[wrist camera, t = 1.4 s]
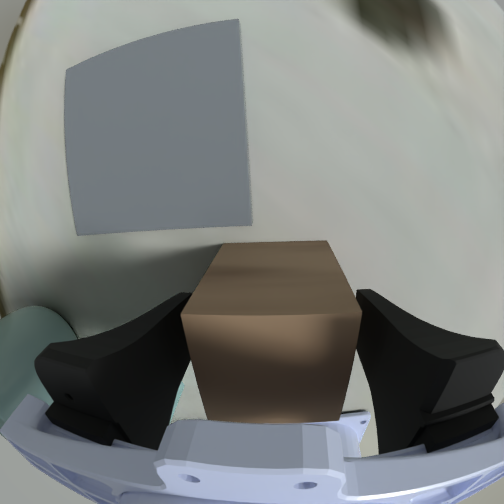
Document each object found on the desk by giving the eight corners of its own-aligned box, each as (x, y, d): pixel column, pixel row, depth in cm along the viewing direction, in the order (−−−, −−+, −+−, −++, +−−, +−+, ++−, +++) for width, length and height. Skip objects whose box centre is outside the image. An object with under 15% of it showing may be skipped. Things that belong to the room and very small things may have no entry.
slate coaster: (252, 222, 13) (251, 225, 12) (83, 232, 14) (77, 235, 14) (240, 24, 10) (238, 18, 9) (72, 71, 11) (66, 69, 10)
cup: (74, 291, 16) (-25, 381, 6) (111, 378, 18) (52, 471, 9) (17, 289, 17) (-61, 350, 7) (50, 363, 19) (-6, 430, 10)
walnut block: (322, 327, 15) (339, 420, 9) (232, 328, 15) (207, 419, 9) (326, 240, 13) (362, 312, 7) (223, 243, 14) (180, 314, 8)
